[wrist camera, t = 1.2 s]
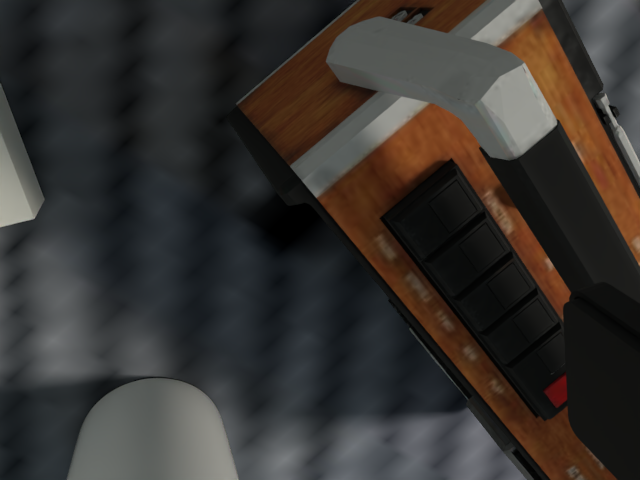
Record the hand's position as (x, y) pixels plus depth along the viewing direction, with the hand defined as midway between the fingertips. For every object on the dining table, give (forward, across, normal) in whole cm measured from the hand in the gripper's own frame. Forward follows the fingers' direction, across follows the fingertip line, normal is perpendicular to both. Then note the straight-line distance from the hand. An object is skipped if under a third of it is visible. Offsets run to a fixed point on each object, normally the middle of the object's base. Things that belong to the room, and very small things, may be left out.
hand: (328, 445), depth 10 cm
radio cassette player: (+24, -11, +9) cm, 28 cm away
